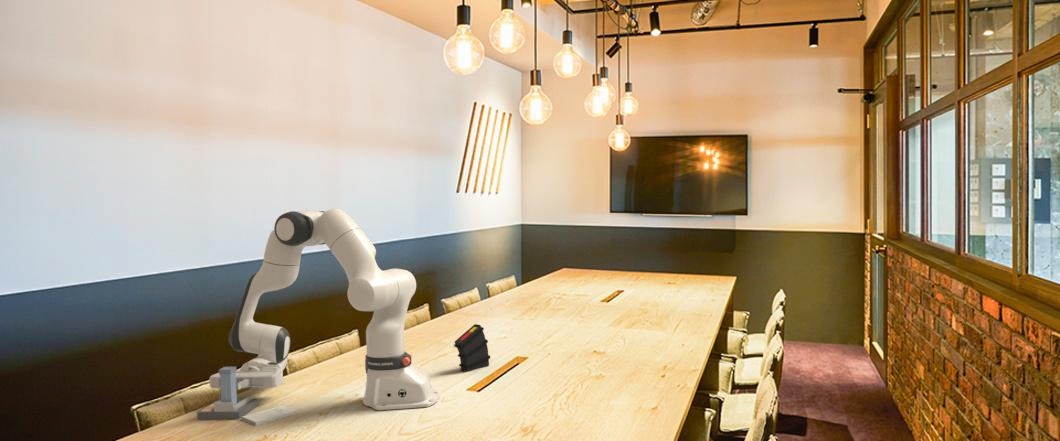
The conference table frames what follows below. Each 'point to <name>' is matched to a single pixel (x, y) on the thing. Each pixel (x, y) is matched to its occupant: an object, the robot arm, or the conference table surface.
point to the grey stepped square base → (228, 409)
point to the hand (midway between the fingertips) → (233, 386)
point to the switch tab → (228, 384)
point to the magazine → (473, 349)
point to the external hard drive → (269, 415)
